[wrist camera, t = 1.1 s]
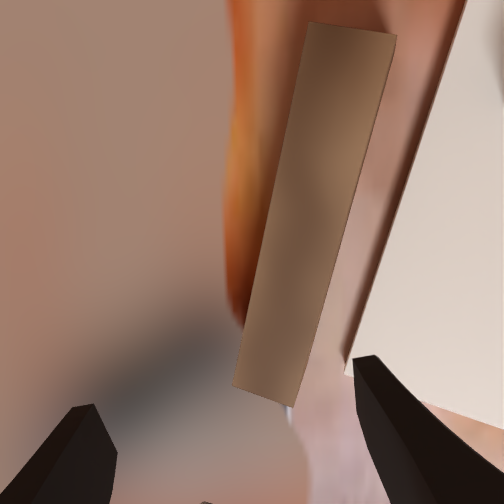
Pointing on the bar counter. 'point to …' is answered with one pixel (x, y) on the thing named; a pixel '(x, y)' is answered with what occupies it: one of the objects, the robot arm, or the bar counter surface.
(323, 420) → the bar counter surface
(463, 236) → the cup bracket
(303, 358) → the rail
